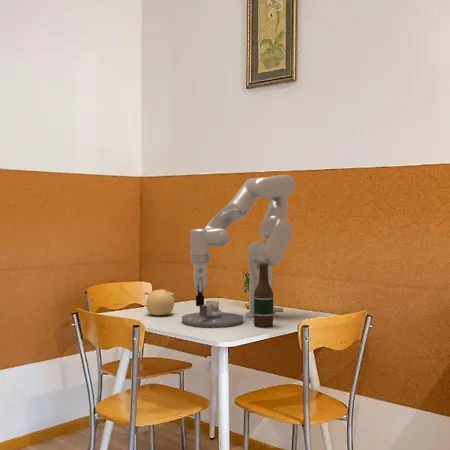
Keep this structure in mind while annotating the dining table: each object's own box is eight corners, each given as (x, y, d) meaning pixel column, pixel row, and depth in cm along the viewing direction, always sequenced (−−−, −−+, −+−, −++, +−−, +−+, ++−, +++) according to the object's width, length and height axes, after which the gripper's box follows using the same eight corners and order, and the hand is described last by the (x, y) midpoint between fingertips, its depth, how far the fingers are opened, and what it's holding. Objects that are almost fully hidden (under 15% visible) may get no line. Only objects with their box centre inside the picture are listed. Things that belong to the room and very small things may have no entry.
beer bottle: (258, 328, 231) (259, 264, 231) (249, 324, 238) (250, 262, 238) (277, 326, 234) (277, 263, 234) (267, 323, 241) (268, 262, 241)
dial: (206, 314, 248) (207, 300, 248) (223, 315, 246) (223, 300, 246) (193, 320, 234) (194, 305, 234) (211, 321, 232) (211, 306, 231)
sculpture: (176, 313, 265) (177, 287, 265) (169, 317, 253) (169, 291, 253) (151, 312, 267) (151, 287, 267) (142, 316, 255) (142, 290, 255)
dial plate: (239, 316, 257) (239, 311, 257) (246, 327, 233) (246, 321, 233) (181, 317, 255) (181, 311, 255) (182, 328, 231) (182, 322, 231)
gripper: (210, 261, 239) (210, 308, 239) (208, 258, 253) (208, 302, 254) (190, 261, 238) (191, 308, 238) (189, 258, 253) (190, 303, 253)
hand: (200, 305), depth 246 cm, fingers closed
